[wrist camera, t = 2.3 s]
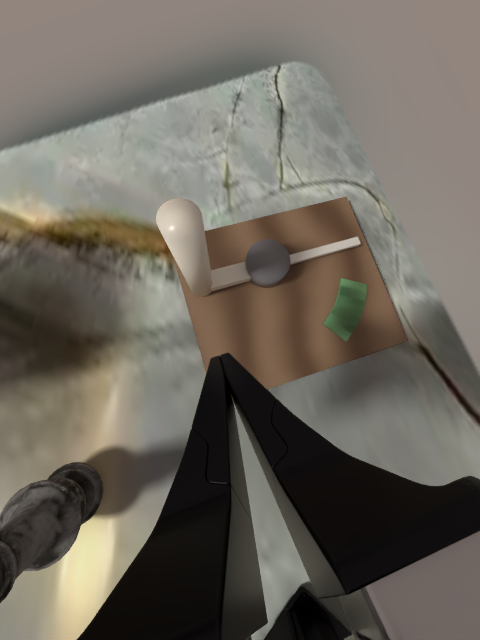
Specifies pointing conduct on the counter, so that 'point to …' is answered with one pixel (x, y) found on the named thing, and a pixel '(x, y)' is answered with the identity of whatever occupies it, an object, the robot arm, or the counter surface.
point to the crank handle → (259, 268)
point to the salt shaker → (45, 521)
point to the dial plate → (295, 298)
